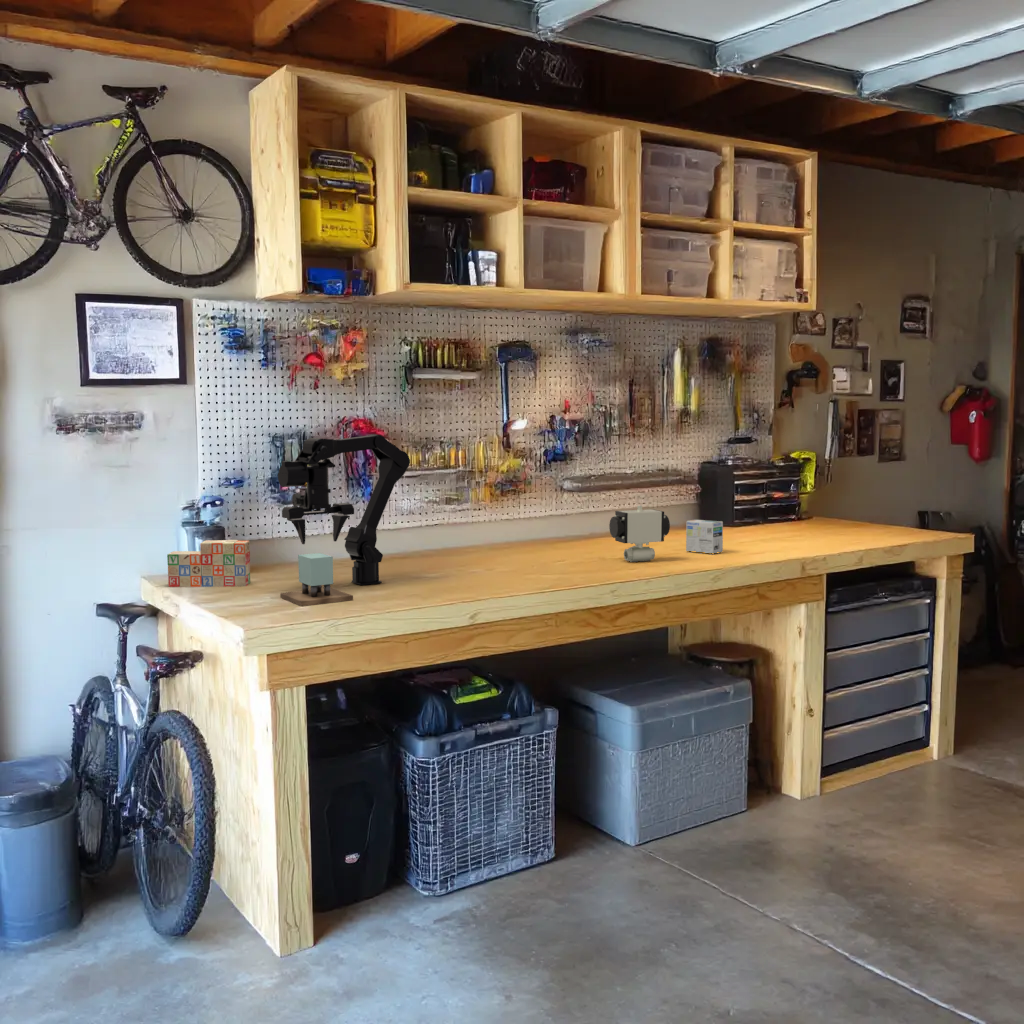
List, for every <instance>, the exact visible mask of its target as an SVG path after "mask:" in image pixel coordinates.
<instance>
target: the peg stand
mask: <svg viewBox="0 0 1024 1024" xmlns="http://www.w3.org/2000/svg"><path fill="white" fill-rule="evenodd" d="M322 586H323V587H322ZM301 588H302V589H301V590H296V591H288V592H287V591H286V592H280V593H279V594H280V595H279V597H280V599H282V600H285V601H287V602H290V603H292V604H294V605H297V606H300V607H306V606H315V605H323V604H333V603H340V602H349V601H354V595H353V594H350V593H348V592H344V591H342V590H339V589H336V588H334V587H331V584H326V585H317V586H310V587H309V585H307V584H304V583H301ZM309 588H310V589H309Z"/></svg>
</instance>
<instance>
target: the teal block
mask: <svg viewBox="0 0 1024 1024" xmlns="http://www.w3.org/2000/svg"><path fill="white" fill-rule="evenodd" d="M297 558H298V559H297V560H298V562H297V563H298V582H299V583H301V584H302V583H304V584H307V585H308V587H309V586H310V587H311V586H317V585H321V586H324V585H326V584H330V585H333V584H334V562H333V561H334V560H333V559H334V556H331V555H329V554H324V553H323V552H315V553H314V552H313V553H307V554H306V553H305V554H304V553H303V554H298V557H297Z"/></svg>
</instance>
